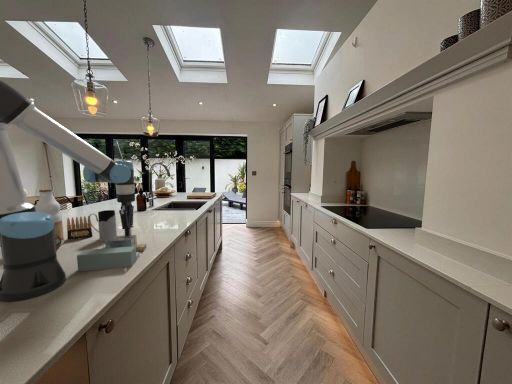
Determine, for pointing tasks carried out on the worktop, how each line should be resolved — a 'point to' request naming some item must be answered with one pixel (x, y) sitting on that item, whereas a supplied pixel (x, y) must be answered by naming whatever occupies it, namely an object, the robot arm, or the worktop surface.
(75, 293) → the worktop surface
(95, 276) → the worktop surface
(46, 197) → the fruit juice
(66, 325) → the worktop surface
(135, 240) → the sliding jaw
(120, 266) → the block
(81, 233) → the ammunition clip
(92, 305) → the worktop surface
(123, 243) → the steel block
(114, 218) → the grey mug
